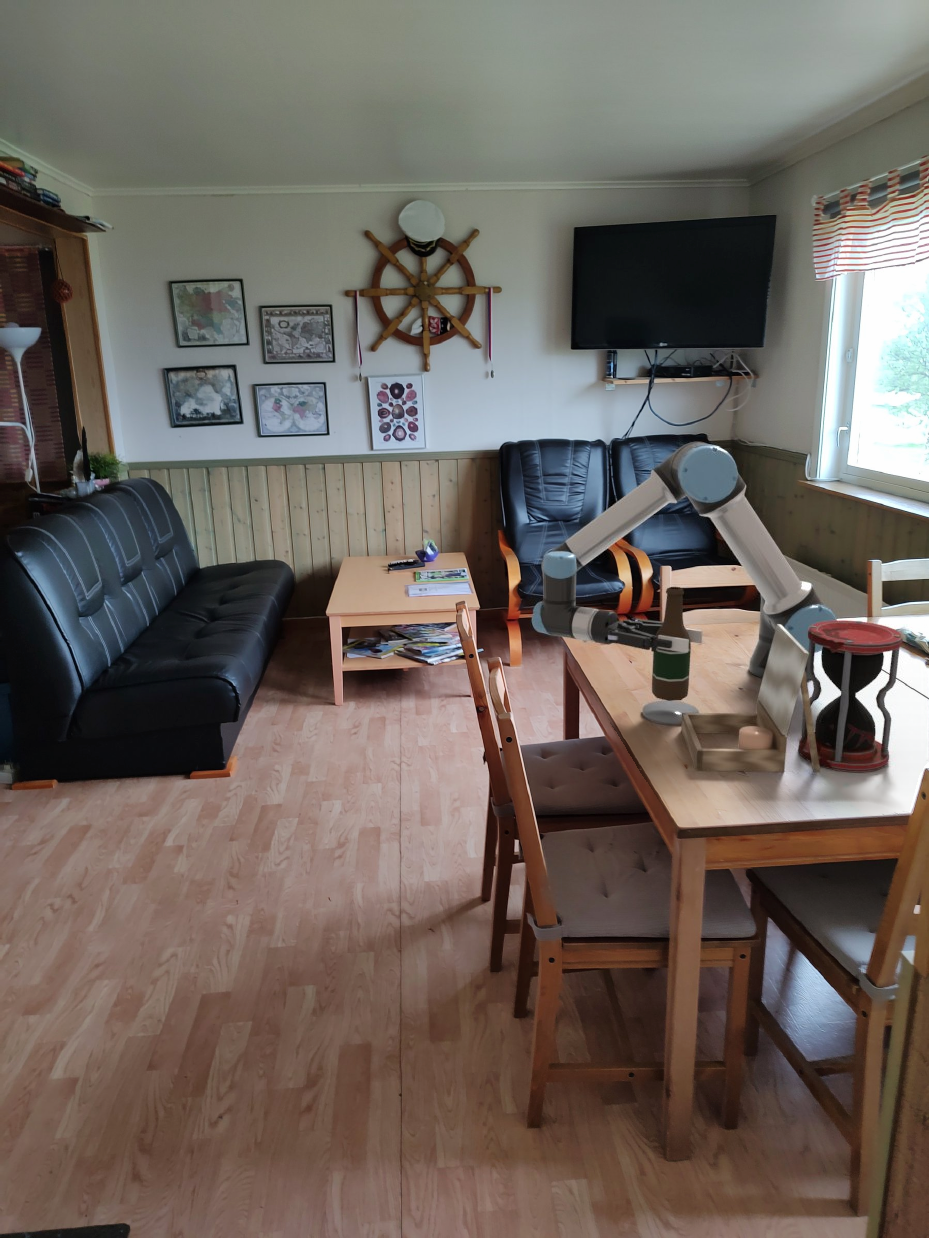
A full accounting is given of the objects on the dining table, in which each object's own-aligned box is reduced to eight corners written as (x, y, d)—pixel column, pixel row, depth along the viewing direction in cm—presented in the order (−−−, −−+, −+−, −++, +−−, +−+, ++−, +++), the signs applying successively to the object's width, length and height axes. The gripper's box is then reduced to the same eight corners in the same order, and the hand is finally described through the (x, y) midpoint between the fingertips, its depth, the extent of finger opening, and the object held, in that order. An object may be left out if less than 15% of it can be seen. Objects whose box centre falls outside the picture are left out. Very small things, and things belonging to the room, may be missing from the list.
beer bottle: (667, 703, 181) (673, 594, 175) (644, 692, 188) (648, 586, 181) (695, 697, 185) (702, 589, 178) (671, 686, 191) (677, 582, 185)
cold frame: (792, 734, 177) (801, 623, 170) (820, 775, 158) (832, 652, 152) (681, 733, 179) (685, 623, 173) (696, 773, 161) (702, 652, 154)
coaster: (693, 705, 193) (693, 700, 192) (703, 725, 181) (703, 721, 181) (639, 704, 194) (639, 700, 193) (645, 724, 182) (645, 720, 182)
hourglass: (805, 732, 176) (815, 615, 169) (892, 747, 168) (906, 625, 161) (790, 762, 163) (801, 636, 156) (884, 779, 155) (899, 648, 148)
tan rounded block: (765, 754, 166) (767, 726, 165) (774, 768, 161) (776, 738, 159) (734, 754, 167) (736, 726, 165) (741, 767, 161) (743, 738, 159)
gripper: (615, 631, 202) (710, 646, 189) (575, 653, 186) (675, 671, 173) (616, 600, 200) (712, 613, 187) (576, 620, 184) (677, 635, 171)
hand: (694, 641), depth 180 cm, fingers closed on beer bottle, 7 cm apart
